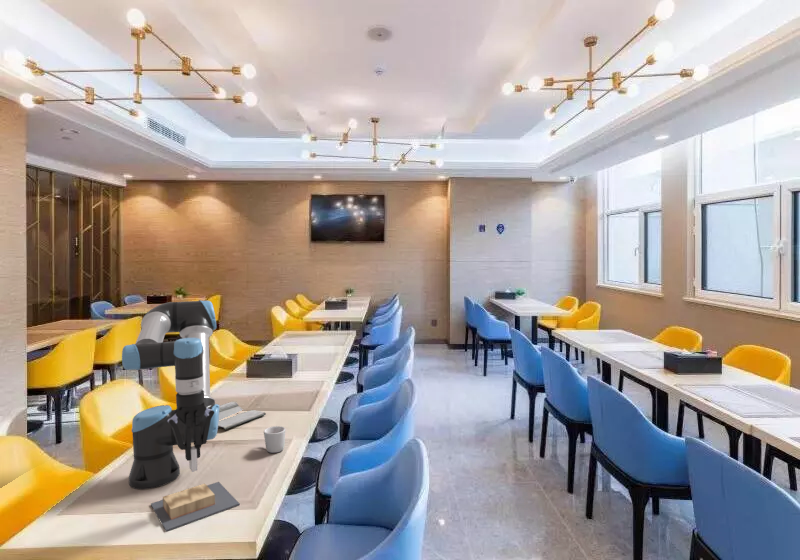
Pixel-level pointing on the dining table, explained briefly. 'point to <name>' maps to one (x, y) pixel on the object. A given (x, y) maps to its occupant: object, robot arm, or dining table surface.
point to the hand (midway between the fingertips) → (193, 469)
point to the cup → (274, 439)
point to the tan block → (188, 501)
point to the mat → (233, 408)
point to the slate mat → (221, 504)
